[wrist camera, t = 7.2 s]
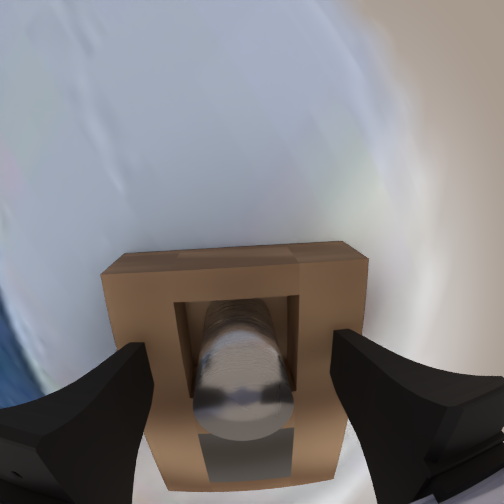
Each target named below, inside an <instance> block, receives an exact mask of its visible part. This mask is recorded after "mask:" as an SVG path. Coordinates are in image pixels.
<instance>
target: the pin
mask: <svg viewBox="0 0 504 504" xmlns="http://www.w3.org/2000/svg"><path fill="white" fill-rule="evenodd" d="M293 409H294V399H293V395H292V391H291V388H290V384H289V381H288V377H287V373H286V370H285V366H284V363H283V359H282V355H281V352H280V348H279V345H278V341H277V337H276V334H275V330H274V327H273V323H272V320H271V316H270V312H269V309H268V307H267V305H266V304H265V302H264V301H263V300H262V299H261V298H250V299H234V300H216V301H212V302H211V303H210V305H209V306H208V308H207V311H206V314H205V320H204V327H203V333H202V340H201V347H200V354H199V361H198V368H197V375H196V383H195V390H194V398H193V413H194V415H195V418H196V419H197V421H198V422H199V424H200V425H201V426H202V427H203V428H204V429H205V430H207V431H208V432H210V433H212V434H213V435H216V436H218V437H221V438H224V439H228V440H235V441H249V440H255V439H260V438H263V437H266V436H268V435H271V434H273V433H274V432H276V431H278V430H279V429H280V428H282V427H283V426H284V425H285V424H286V423H287V421H288V420H289V418H290V417H291V415H292V413H293Z"/></svg>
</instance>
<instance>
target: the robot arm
mask: <svg viewBox="0 0 504 504" xmlns="http://www.w3.org/2000/svg"><path fill="white" fill-rule="evenodd" d="M330 376H331V379H332V383H333V386H334V389H335V392H336V394H337V396H338V398H339V400H340V402H341V404H342V406H343V408H344V410H345V412H346V414H347V416H348V418H349V420H350V422H351V424H352V426H353V428H354V430H355V432H356V435H357V437H358V439H359V441H360V444H361V447H362V450H363V453H364V456H365V459H366V462H367V466H368V469H369V472H370V476H371V479H372V483H373V487H374V490H375V495H376V499H377V504H504V443H503V441H504V433H503V432H502V431H501V430H502V428H503V427H504V378H503V377H502V376H475V375H466V374H459V373H453V372H448V371H444V370H440V369H436V368H432V367H429V366H426V365H423V364H420V363H417V362H414V361H412V360H409V359H407V358H404V357H402V356H400V355H398V354H396V353H394V352H392V351H390V350H388V349H386V348H384V347H382V346H380V345H378V344H376V343H375V342H373V341H371V340H369V339H367V338H366V337H364V336H362V335H360V334H358V333H357V332H355V331H353V330H351V329H348V328H347V329H340V330H333V342H332V353H331V363H330ZM153 392H154V380H153V376H152V372H151V368H150V364H149V360H148V355H147V351H146V347H145V342H129V343H128V344H126V345H125V346H123V347H122V348H121V349H119V350H118V351H117V352H115V353H114V354H113V355H112V356H110V357H109V358H108V359H106V360H105V361H104V362H102V363H101V364H100V365H99V366H97V367H96V368H94V369H93V370H91V371H90V372H88V373H87V374H86V375H84V376H83V377H81V378H80V379H78V380H76V381H75V382H73V383H71V384H70V385H68V386H66V387H64V388H62V389H60V390H58V391H56V392H54V393H51V394H49V395H47V396H44V397H42V398H39V399H37V400H34V401H31V402H28V403H24V404H21V405H17V406H13V407H8V408H3V409H0V504H132V493H133V483H134V473H135V466H136V459H137V454H138V449H139V446H140V442H141V439H142V435H143V432H144V429H145V425H146V422H147V419H148V415H149V412H150V408H151V405H152V399H153Z"/></svg>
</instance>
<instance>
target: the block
mask: <svg viewBox="0 0 504 504" xmlns="http://www.w3.org/2000/svg"><path fill="white" fill-rule="evenodd" d="M368 262H369V258H367V257H366V256H364V255H363V254H361V253H360V252H358V251H357V250H355V249H354V248H352V247H351V246H349V245H348V244H346V243H344V242H343V241H332V242H314V243H295V244H277V245H260V246H242V247H225V248H208V249H191V250H174V251H158V252H142V253H126V254H123V255H122V256H121V257H120V258H119V259H117V260H116V261H115V262H114V263H113V264H112V265H111V266H109V267H108V268H107V269H106V270H105V271H104V272H103V273H102V274H100V275H101V280H102V285H103V291H104V296H105V301H106V305H107V310H108V314H109V319H110V323H111V327H112V331H113V336H114V339H115V343H116V347H117V351H118V350H119V349H121V348H122V347H123V346H125V345H126V344H128V343H129V342H145V347H146V351H147V355H148V360H149V364H150V368H151V372H152V376H153V380H154V392H153V399H152V405H151V408H150V412H149V415H148V419H147V422H146V425H145V429H144V435H145V437H146V440H147V442H148V445H149V447H150V450H151V452H152V455H153V457H154V459H155V462H156V464H157V467H158V469H159V471H160V473H161V476H162V478H163V480H164V482H165V484H166V487H167V489H168V491H185V492H229V491H248V490H261V489H272V488H281V487H289V486H296V485H303V484H309V483H315V482H320V481H326V480H331V479H334V475H335V471H336V467H337V464H338V460H339V456H340V451H341V447H342V443H343V439H344V434H345V430H346V425H347V420H348V416H347V414H346V412H345V410H344V408H343V406H342V404H341V402H340V400H339V398H338V396H337V394H336V392H335V389H334V386H333V383H332V379H331V376H330V363H331V353H332V342H333V330H340V329H347V328H348V329H351V330H353V331H355V332H357V333H358V334H360V335H362V328H363V319H364V310H365V300H366V289H367V277H368ZM250 298H261V299H262V300H263V301H264V302H265V304H266V305H267V307H268V309H269V312H270V316H271V320H272V323H273V327H274V330H275V334H276V337H277V341H278V345H279V348H280V352H281V355H282V359H283V363H284V366H285V370H286V373H287V377H288V381H289V384H290V388H291V391H292V395H293V399H294V409H293V413H292V415H291V417H290V418H289V420H288V421H287V423H286V424H285V425H284V426H283V427H282V428H280V429H279V430H278V431H276V432H274V433H273V434H271V435H268V436H266V437H263V438H260V439H255V440H249V441H235V440H228V439H224V438H221V437H218V436H216V435H213V434H212V433H210V432H208V431H207V430H205V429H204V428H203V427H202V426H201V425H200V424H199V422H198V421H197V419H196V418H195V415H194V413H193V398H194V390H195V383H196V375H197V368H198V361H199V354H200V347H201V340H202V333H203V327H204V320H205V314H206V311H207V308H208V306H209V305H210V303H211V302H212V301H216V300H234V299H250Z"/></svg>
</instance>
